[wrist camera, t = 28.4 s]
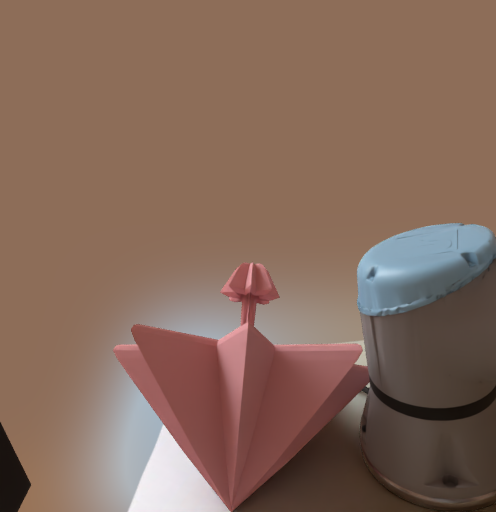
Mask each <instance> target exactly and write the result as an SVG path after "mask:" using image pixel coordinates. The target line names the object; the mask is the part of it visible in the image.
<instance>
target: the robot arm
mask: <svg viewBox="0 0 496 512" xmlns="http://www.w3.org/2000/svg"><path fill="white" fill-rule="evenodd" d="M357 280H358V295H359V296H358V300H357V305H358V309H359V311H360V314H361V322H362V329H363V336H364V344H365V351H366V358H367V365H368V372H369V379H370V389H369V388H368V387H366V386H365V387H364V388H363V389H362V390H361V391H363V392H365V393H367V394H368V396H367V400H366V403H365V407H364V411H363V415H362V418H361V422H360V444H361V450H362V455H363V458H364V461H365V463H366V465H367V467H368V469H369V470H370V472H371V473H372V474H373V476H374V477H375V478H376V479H377V480H378V481H379V482H380V483H381V484H382V485H383V486H384V487H386V488H387V489H388V490H390V491H391V492H392V493H394V494H395V495H397V496H399V497H401V498H403V499H405V500H407V501H409V502H411V503H414V504H416V505H419V506H423V507H426V508H430V509H435V510H441V511H454V512H455V511H471V510H476V509H481V508H484V507H487V506H490V505H492V504H494V503H496V237H495V235H494V233H493V232H492V231H491V230H489V229H488V228H486V227H483V226H480V225H475V224H470V225H464V224H462V223H455V224H453V223H452V224H440V225H433V226H427V227H423V228H418V229H414V230H410V231H407V232H404V233H401V234H398V235H395V236H393V237H391V238H389V239H387V240H384V241H382V242H381V243H379V244H377V245H376V246H374V247H373V248H372V249H370V250H369V251H368V252H367V253H366V254H365V255H364V257H363V258H362V259H361V261H360V263H359V266H358V270H357ZM30 486H31V483H30V481H29V479H28V478H27V475H26V473H25V471H24V469H23V467H22V465H21V463H20V461H19V459H18V457H17V455H16V453H15V451H14V449H13V447H12V445H11V443H10V441H9V439H8V437H7V435H6V433H5V431H4V429H3V427H2V425H1V423H0V512H18V510H19V508H20V506H21V504H22V502H23V500H24V498H25V496H26V494H27V492H28V490H29V488H30Z"/></svg>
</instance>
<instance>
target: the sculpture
mask: <svg viewBox="0 0 496 512" xmlns="http://www.w3.org/2000/svg"><path fill="white" fill-rule="evenodd" d="M221 293H222V294H224V295H226V296H228V297H230V299H229V300H231V301H234V302H242V313H241V326H240V327H239V328H237V329H236V330H234V331H232V332H231V333H229V334H228V335H226V336H225V337H223V338H221V339H220V340H216V339H211V338H205V337H201V336H196V335H190V334H186V333H181V332H175V331H170V330H165V329H160V328H155V327H150V326H145V325H140V324H136V325H134V326H133V327H132V329H131V332H132V334H133V337H134V340H135V342H136V344H137V345H117V346H115V348H114V349H113V351H114V353H115V355H116V357H117V359H118V360H119V362H120V363H121V365H122V366H123V367H124V369H125V370H126V372H127V373H128V375H129V376H130V378H131V379H132V380H133V382H134V383H135V384H136V386H137V387H138V389H139V390H140V392H141V393H142V394H143V396H144V397H145V399H146V400H147V401H148V403H149V404H150V406H151V407H152V408H153V410H154V411H155V413H156V414H157V415H158V416H159V418H160V419H161V421H162V422H163V424H164V425H165V426H166V428H167V429H168V431H169V432H170V433H171V435H172V436H173V438H174V439H175V440H176V442H177V443H178V445H179V446H180V447H181V449H182V450H183V452H184V453H185V454H186V455H187V457H188V458H189V459H190V460H191V462H192V463H193V464H194V466H195V467H196V468H197V469H198V471H199V472H200V473H201V474H202V476H203V477H204V478H205V480H206V481H207V482H208V483H209V485H210V486H211V487H212V488H213V490H214V491H215V492H216V494H217V495H218V496H219V497H220V499H221V500H222V501H223V503H224V504H225V505H226V506H227V508H228V509H229V510H230V511H231V512H232V511H233V510H234V509H236V508H237V507H238V506H239V505H240V504H241V503H242V502H243V501H245V500H246V499H247V498H248V497H249V496H250V495H251V494H252V493H254V492H255V491H256V490H257V489H258V488H259V487H260V486H261V485H263V484H264V483H265V482H266V481H267V480H268V479H269V478H270V477H272V476H273V475H274V474H275V473H276V472H277V471H278V470H279V469H280V468H282V467H283V466H284V465H285V464H286V463H287V462H288V461H289V460H291V459H292V458H293V457H294V456H295V455H296V454H297V453H298V452H299V451H300V450H301V449H302V448H303V447H304V446H305V445H306V444H307V443H308V442H309V441H310V440H311V439H312V438H313V437H314V436H315V435H316V434H317V433H318V432H319V431H320V430H321V429H322V428H323V427H324V426H325V425H326V424H327V423H328V422H329V421H330V420H332V419H333V418H334V417H335V416H336V415H337V414H338V413H339V412H340V411H341V410H342V409H343V408H344V407H345V406H346V405H347V404H348V403H349V402H350V401H351V400H352V399H353V398H354V397H355V396H356V395H357V394H358V393H359V392H360V391H361V390H362V389H363V388H364V387H365V386H366V385H367V384H368V383H369V382H370V379H369V372H368V366H362V365H356V364H354V363H355V362H356V361H357V360H358V358H359V356H360V354H361V353H362V351H363V350H362V347H361V345H359V344H301V345H273V344H272V343H271V342H270V341H269V340H268V339H267V338H266V337H264V336H263V335H262V334H261V333H260V332H259V331H258V330H257V329H256V328H255V327H254V320H255V311H256V303H259V304H263V305H264V304H268V303H269V301H270V300H274V299H277V298H279V295H278V293H277V291H276V288H275V286H274V284H273V281H272V279H271V277H270V275H269V273H268V271H267V270H266V269H265V268H264V266H263V265H262V264H254V263H253V262H252V263H251V264H250V263H246V262H245V263H242V264H241V265H240V266H239V267H238V268H236V269H235V271H234V272H233V274H232V275H231V277H230V278H229V280H228V281H227V283H226V284H225V286H224V287H223V289H222V290H221Z"/></svg>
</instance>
